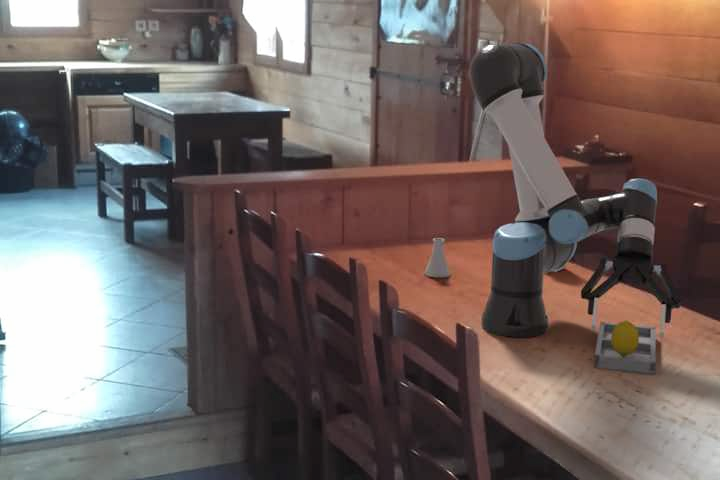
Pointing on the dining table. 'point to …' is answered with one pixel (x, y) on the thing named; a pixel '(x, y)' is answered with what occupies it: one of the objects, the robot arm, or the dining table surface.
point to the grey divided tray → (634, 362)
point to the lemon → (625, 338)
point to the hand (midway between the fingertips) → (627, 332)
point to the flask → (437, 261)
